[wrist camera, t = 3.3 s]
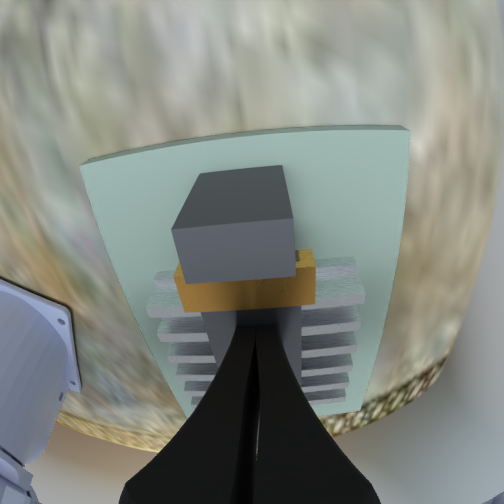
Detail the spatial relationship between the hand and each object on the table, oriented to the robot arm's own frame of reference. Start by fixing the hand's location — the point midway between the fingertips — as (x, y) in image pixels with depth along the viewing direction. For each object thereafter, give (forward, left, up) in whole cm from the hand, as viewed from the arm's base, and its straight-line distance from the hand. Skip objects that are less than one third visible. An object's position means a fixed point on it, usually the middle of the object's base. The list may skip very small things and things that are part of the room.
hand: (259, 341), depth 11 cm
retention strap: (-3, -1, -1) cm, 3 cm away
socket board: (-2, -1, -4) cm, 4 cm away
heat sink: (-2, -1, -4) cm, 4 cm away
